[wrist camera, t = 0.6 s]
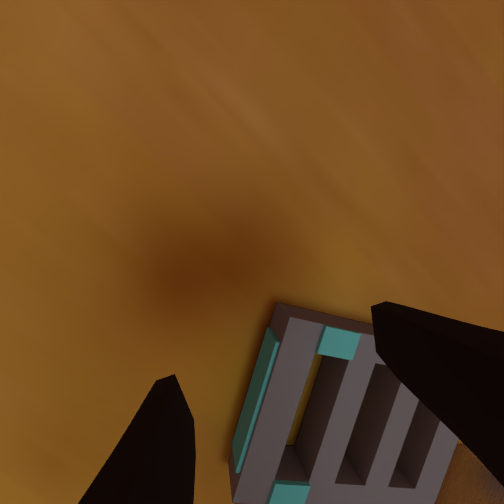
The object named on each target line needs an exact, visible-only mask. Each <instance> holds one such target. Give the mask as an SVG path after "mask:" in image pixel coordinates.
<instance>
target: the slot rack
mask: <svg viewBox="0 0 504 504" xmlns="http://www.w3.org/2000/svg"><path fill="white" fill-rule="evenodd" d="M315 352H316V353H317V354H321V355H324V357H323V360H322V363H321V366H320V369H319V372H318V375H317V378H316V381H315V384H314V388H313V391H312V394H311V397H310V400H309V403H308V406H307V409H306V412H305V415H304V418H303V422H302V425H301V428H300V431H299V434H298V437H297V440H296V443H295V446H287V445H286V442H287V439H288V436H289V433H290V430H291V426H292V423H293V420H294V417H295V414H296V411H297V408H298V405H299V402H300V398H301V395H302V392H303V389H304V386H305V383H306V380H307V377H308V373H309V370H310V367H311V364H312V361H313V358H314V355H315ZM458 439H459V438H458V437H457V436H456V435H455V434H454V433H453V432H452V431H451V430H450V429H449V428H448V427H446V426H445V425H444V424H443V423H442V422H441V421H440V420H439V419H438V418H437V417H436V416H435V415H434V414H433V413H432V412H431V411H430V410H429V409H428V408H427V407H426V406H425V405H424V404H423V403H422V402H421V401H420V400H419V399H418V398H417V397H416V396H415V395H414V394H413V393H412V392H411V391H410V390H409V389H408V388H407V387H406V386H405V385H404V384H403V383H402V382H401V381H400V380H399V379H398V378H397V377H396V376H395V375H394V374H393V373H392V372H391V370H390V369H389V368H388V367H387V366H386V364H385V363H384V362H383V360H382V359H381V358H380V357H379V355H378V354H377V353H376V349H375V340H374V330H373V325H372V324H367V323H363V322H359V321H355V320H350V319H346V318H342V317H338V316H333V315H329V314H325V313H321V312H316V311H312V310H308V309H303V308H299V307H295V306H291V305H286V304H282V303H278V302H277V304H276V307H275V311H274V314H273V317H272V321H271V324H270V327H267V329H266V333H265V336H264V339H263V343H262V346H261V349H260V352H259V356H258V359H257V362H256V366H255V369H254V372H253V375H252V379H251V382H250V385H249V389H248V392H247V395H246V399H245V402H244V405H243V408H242V412H241V415H240V418H239V422H238V425H237V428H236V431H235V435H234V438H233V441H232V448H233V449H232V452H231V455H230V458H229V462H228V464H229V474H230V484H231V494H232V503H247V504H434V503H435V501H436V498H437V495H438V493H439V490H440V487H441V485H442V482H443V479H444V477H445V474H446V471H447V469H448V466H449V463H450V461H451V458H452V455H453V453H454V450H455V447H456V445H457V442H458Z"/></svg>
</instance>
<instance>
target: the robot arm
mask: <svg viewBox="0 0 504 504" xmlns="http://www.w3.org/2000/svg"><path fill="white" fill-rule="evenodd" d="M371 312H372V321H373V330H374V340H375V349H376V353H377V354H378V355H379V357H380V358H381V359H382V360H383V362H384V363H385V364H386V366H387V367H388V368H389V369H390V370H391V372H392V373H393V374H394V375H395V376H396V377H397V378H398V379H399V380H400V381H401V382H402V383H403V384H404V385H405V386H406V387H407V388H408V389H409V390H410V391H411V392H412V393H413V394H414V395H415V396H416V397H417V398H418V399H419V400H420V401H421V402H422V403H423V404H424V405H425V406H426V407H427V408H428V409H429V410H430V411H431V412H432V413H433V414H434V415H435V416H436V417H437V418H438V419H439V420H440V421H441V422H442V423H443V424H444V425H445V426H446V427H448V428H449V429H450V430H451V431H452V432H453V433H454V434H455V435H456V436H457V437H458V438H459V439H460V440H461V441H462V442H463V443H464V444H465V445H466V446H467V447H468V448H469V449H470V451H471V452H472V453H473V454H474V455H475V456H476V457H477V458H478V459H479V460H480V461H481V462H482V464H483V465H484V466H485V467H486V468H487V469H488V470H489V471H490V473H491V474H492V475H493V476H494V477H495V478H496V479H497V480H498V482H499V483H500V484H501V485H502V486H503V487H504V332H502V331H498V330H494V329H489V328H485V327H481V326H477V325H473V324H469V323H465V322H462V321H458V320H454V319H451V318H447V317H443V316H440V315H436V314H432V313H429V312H425V311H422V310H418V309H415V308H411V307H407V306H404V305H400V304H396V303H392V302H387V301H385V302H382V303H379V304H377V305H374V306H371ZM195 460H196V450H195V430H194V419H193V416H192V414H191V412H190V409H189V407H188V404H187V402H186V400H185V397H184V395H183V393H182V390H181V388H180V385H179V383H178V381H177V378H176V376H175V374H174V375H171V376H168V377H165V378H162V379H159V380H156V382H155V383H154V385H153V387H152V388H151V390H150V391H149V393H148V395H147V396H146V398H145V400H144V401H143V403H142V405H141V406H140V408H139V410H138V411H137V413H136V415H135V416H134V418H133V420H132V421H131V423H130V425H129V426H128V428H127V430H126V431H125V433H124V434H123V436H122V438H121V439H120V441H119V443H118V444H117V446H116V447H115V449H114V451H113V452H112V454H111V455H110V457H109V458H108V460H107V461H106V463H105V464H104V466H103V467H102V469H101V470H100V472H99V473H98V475H97V476H96V478H95V479H94V481H93V482H92V484H91V485H90V487H89V488H88V490H87V491H86V493H85V494H84V496H83V497H82V499H81V500H80V501H79V503H78V504H193V500H194V481H195Z"/></svg>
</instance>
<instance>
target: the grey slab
mask: <svg viewBox="0 0 504 504" xmlns="http://www.w3.org/2000/svg"><path fill="white" fill-rule="evenodd" d="M434 504H504V487H503V486H502V485H501V484H500V483H499V482H498V480H497V479H496V478H495V477H494V476H493V475H492V474H491V473H490V471H489V470H488V469H487V468H486V467H485V466H484V465H483V464H482V462H481V461H480V460H479V459H478V458H477V457H476V456H475V455H474V454H473V453H472V452H471V451H470V449H469V448H468V447H467V446H466V445H465V444H457V445H456V447H455V450H454V453H453V455H452V458H451V461H450V463H449V466H448V469H447V471H446V474H445V477H444V479H443V482H442V485H441V487H440V490H439V493H438V495H437V498H436V501H435V503H434Z"/></svg>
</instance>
